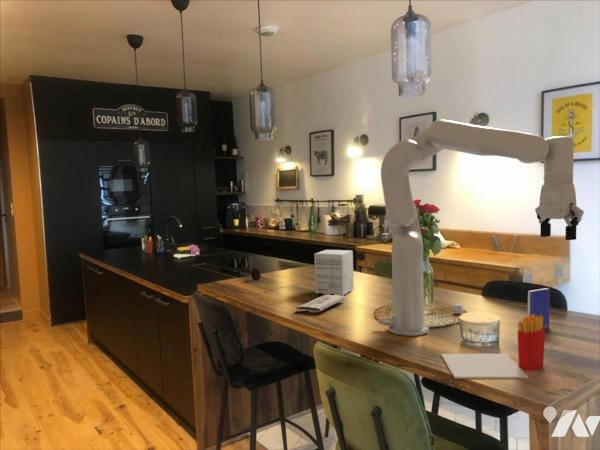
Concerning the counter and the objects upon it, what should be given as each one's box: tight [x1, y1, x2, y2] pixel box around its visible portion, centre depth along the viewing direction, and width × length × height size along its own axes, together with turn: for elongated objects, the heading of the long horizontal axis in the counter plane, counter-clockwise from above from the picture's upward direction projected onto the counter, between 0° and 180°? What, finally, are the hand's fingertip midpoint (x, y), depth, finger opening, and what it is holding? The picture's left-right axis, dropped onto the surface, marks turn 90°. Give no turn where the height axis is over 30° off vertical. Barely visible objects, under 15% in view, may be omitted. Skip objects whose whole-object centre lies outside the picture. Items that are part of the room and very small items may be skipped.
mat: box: [440, 353, 530, 380], centre depth 127 cm, size 17×16×1 cm
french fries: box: [517, 314, 546, 372], centre depth 125 cm, size 9×4×13 cm, turn 127°
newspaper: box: [295, 294, 347, 313], centre depth 194 cm, size 23×12×2 cm, turn 149°
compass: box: [243, 267, 262, 285], centre depth 241 cm, size 8×8×7 cm
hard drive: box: [527, 287, 551, 330], centre depth 156 cm, size 2×8×12 cm, turn 114°
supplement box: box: [313, 249, 355, 296], centre depth 219 cm, size 13×13×18 cm
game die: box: [452, 303, 464, 315], centre depth 178 cm, size 4×4×3 cm
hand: (557, 238), depth 147 cm, fingers open, 9 cm apart
